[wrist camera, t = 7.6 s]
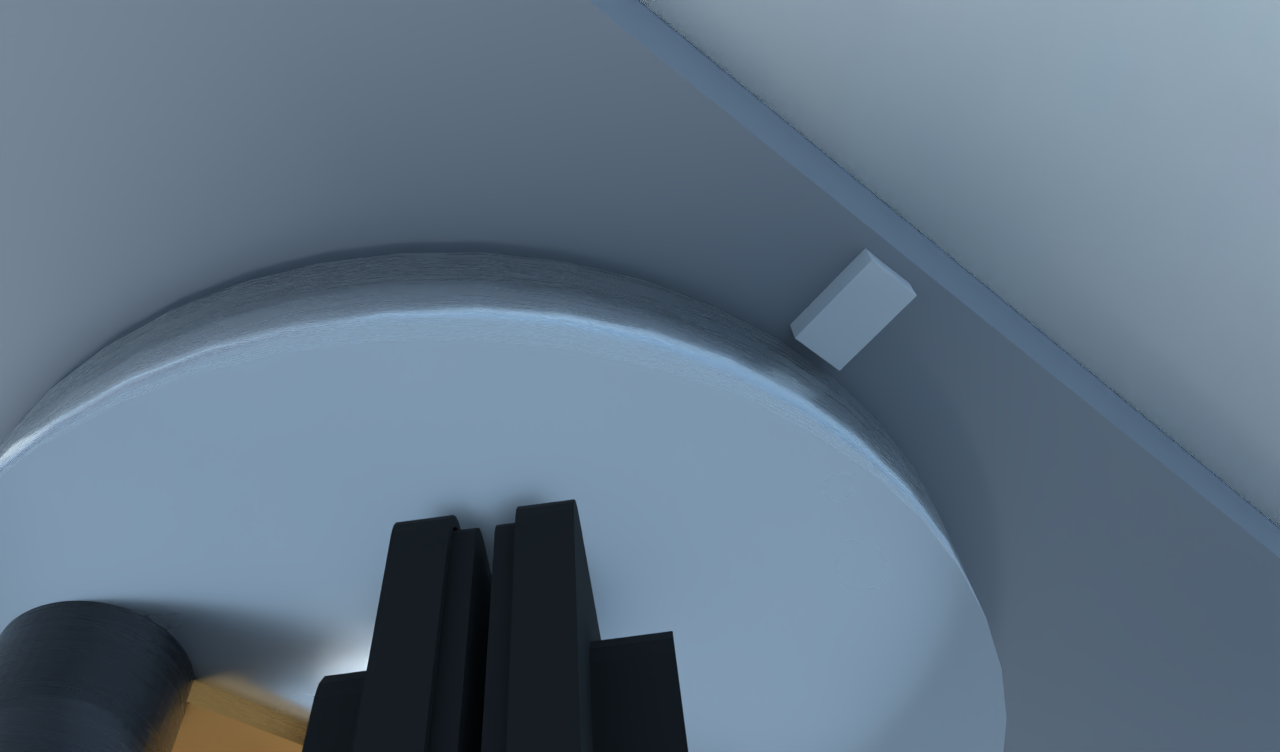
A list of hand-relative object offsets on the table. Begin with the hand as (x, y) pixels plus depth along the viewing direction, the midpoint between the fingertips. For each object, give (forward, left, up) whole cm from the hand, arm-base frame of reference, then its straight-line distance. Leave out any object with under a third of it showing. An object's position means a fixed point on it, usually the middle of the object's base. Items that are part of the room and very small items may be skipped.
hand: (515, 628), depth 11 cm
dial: (-2, +4, -3) cm, 5 cm away
